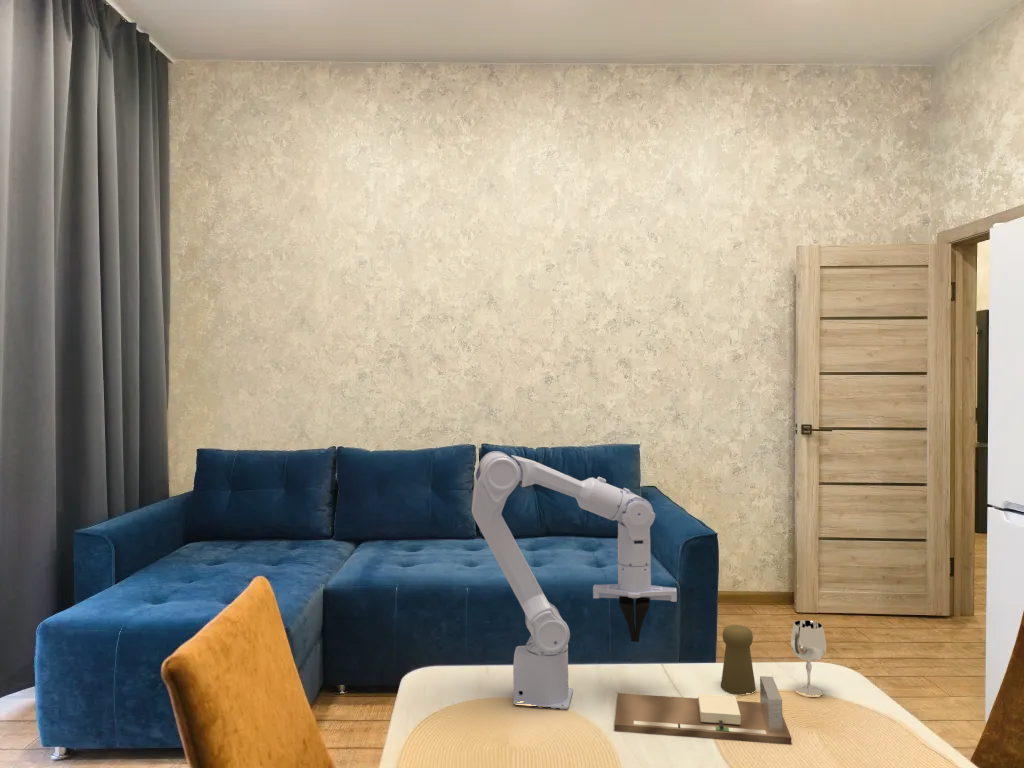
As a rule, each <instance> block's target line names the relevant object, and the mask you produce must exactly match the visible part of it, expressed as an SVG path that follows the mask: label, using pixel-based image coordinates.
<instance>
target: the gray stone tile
mask: <svg viewBox="0 0 1024 768" xmlns="http://www.w3.org/2000/svg"><path fill="white" fill-rule="evenodd" d="M759 682H760V683H759V689H760V690H759V691H760V692H759V693H760V694H759V697H760V698H759V700H760V706H761V709H762V712H763V715H764V718H765V721H766V724H767V727H768V730H769V732H783V722H782V715H783V698H782V696H781V693H780V691H779V688H778V686H777V684H776V682H775V679H774V677H773V676H766V675H765V676H763V675H760V676H759Z"/></svg>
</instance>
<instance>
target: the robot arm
mask: <svg viewBox="0 0 1024 768" xmlns="http://www.w3.org/2000/svg"><path fill="white" fill-rule="evenodd" d="M473 475H474V476H473V479H474V481H473V493H472V500H471V501H472V503H471V513H472V516H473V519H474V520H475V523H476V524H477V526H478V528H479V530H480V532H481V534H482V537H484V539H485V541H486V543H487V545H488V546H489V549H490V551H491V553H492V555H493V556H494V558H495V560H496V562H497V564H498V566H499V567H500V569H501V571H502V573H503V575H504V577H505V578H506V580H507V582H508V584H509V586H510V587H511V589H512V591H513V594H514V595H515V597H516V599H517V600H518V603H519V605H520V607H521V608H522V610H523V612H524V616H525V625H526V626H525V627H526V628H527V630H528V631H529V633H530V636H529V637H528V638H529V639H528V640H527V642H526V645H518V646H516V647H515V650H514V655H513V665H512V667H513V673H512V674H513V676H512V677H513V678H512V679H513V680H512V681H513V701H512V704H513V703H514V704H531V705H536V706H544V707H551V708H550V709H556V708H560V710H568V709H569V707H570V703H571V699H572V695H573V692H574V689H573V687H569V645H568V644H569V641H570V639H571V638H570V637H571V633H570V628H569V625H568V624H567V622H566V621H565V620H563V618H562V616H561V615H560V612H559V610H558V608H557V607H556V606H555V605H554V604H552V603H551V602H550V601H548V599H547V597H546V595H545V593H544V592H543V590H542V587H541V586H540V584H539V582H538V580H537V579H536V576H535V575H534V573H533V572H532V570H531V567H530V565H529V564H528V562H527V560H526V558H525V556H524V554H523V553H522V550H521V549H520V547H519V545H518V543H517V542H516V539H515V538H514V536H513V533H512V531H511V530H510V528H509V526H508V524H507V523H506V521H505V518H504V517H503V515H502V512H503V509H504V507H505V505H506V502H507V500H508V497H509V496H510V494H511V493H512V492H513V491H514V490H515V489H516V487H517V486H518V485H519V486H520V487H521V488H525V487H529V486H532V485H539V486H541V487H544V488H548V489H550V490H553V491H555V492H559V493H561V494H564V495H566V496H569V497H572V498H575V500H576V502H577V504H578V507H579V508H580V509H582V510H585V511H588V512H590V513H593V514H595V515H598V516H600V517H602V518H605V519H607V520H610V521H617V533H618V534H617V583H612V584H611V583H610V584H594V585H593V587H592V598H593V599H601V598H604V599H607V598H608V599H618V606H619V608H620V610H621V612H622V614H623V616H624V618H625V621H626V624H627V627H628V630H629V634H630V635H629V636H630V642H635V643H637V642H640V634H641V630H642V626H643V623H644V620H645V617H646V615H647V613H648V611H649V608H650V605H651V600H652V601H670V602H671V603H675V602H676V603H677V600H678V599H677V598H678V593H677V588H676V587H668V586H662V585H661V586H660V585H652V572H651V570H652V569H651V565H652V564H651V563H652V562H651V561H652V559H651V558H652V557H651V529H650V528H651V526H652V525H653V523H654V521H655V519H656V513H655V512H654V509H653V506H652V504H651V502H650V501H648V499H645V498H644V497H641V496H639V495H637V494H635V493H634V492H632V491H631V490H630V489H629V488H626V487H623V488H620V487H617V486H614V485H611V484H609V483H607V480H606V479H605V478H603V477H600V476H598V477H597V478H595V477H588V478H586V479H584V480H579V479H577V478H574V477H572V476H570V475H568V474H566V473H563V472H560V471H558V470H556V469H553V468H552V467H549V466H547V465H544V464H542V463H540V462H537V461H535V460H532V459H528V458H526V457H521V456H519V455H518V456H517V455H512V454H511V457H510V455H508V454H506V453H505V452H502V451H499V450H497V451H490V452H487V453H486V454H485V455H484V456H483V457H482V458H481V459H480V461H479V463H478V465H477V468H476V469H475V472H474V474H473ZM520 701H524V702H523V703H517V702H520Z"/></svg>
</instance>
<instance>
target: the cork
mask: <svg viewBox="0 0 1024 768" xmlns="http://www.w3.org/2000/svg"><path fill="white" fill-rule="evenodd" d="M753 639H754V636H753V633H752V631H751V629H750V628H748V627H747V626H744V625H742V624H741V625H740V624H729V625H726V626H725V627H724V628H723V631H722V640H723V643H724V644H725V650H724V658H723V665H722V673H721V683H720V689H721V690H722V691H724V692H725V693H728V694H731V695H735V694H746V693H752V692H754V691H755V690H757V688H756V682H755V674H754V668H753V660H752V653H751V646H752V644H753Z"/></svg>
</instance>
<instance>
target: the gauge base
mask: <svg viewBox="0 0 1024 768" xmlns="http://www.w3.org/2000/svg"><path fill="white" fill-rule="evenodd" d="M737 704H738V708H739V711H740V719H741V725H739V724H725V723H723V726H724V729H723V728H720V725H719V723H711V722H701V718H700V712H699V705H698V697H683V696H682V697H680V696H668V695H667V696H666V695H653V694H651V695H650V694H637V693H622V692H618V693H617V697H616V705H615V706H616V708H615V716H614V717H615V718H614V725H613V727H614V729H613V730H614V732H625V733H626V732H627V733H635V734H636V733H637V734H638V733H639V734H651V735H663V736H664V735H665V736H678V737H690V738H691V737H692V738H701V739H702V738H703V739H704V738H705V739H717V740H718V739H719V740H732V741H742V742H757V743H758V742H759V743H768V742H770V743H772V744H784V745H792V736H791V733H790V731H789V728H788V726H787V724H786V721H785V717H784V716H783V714H782V722H783V732H769V730H768V727H767V724H766V721H765V718H764V715H763V712H762V709H761V706H760V702H757V701H746V700H745V701H743V700H737Z"/></svg>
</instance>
